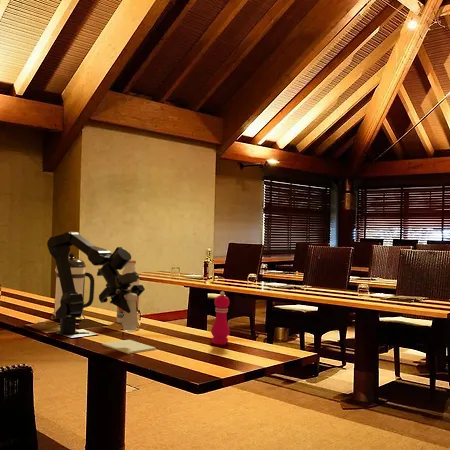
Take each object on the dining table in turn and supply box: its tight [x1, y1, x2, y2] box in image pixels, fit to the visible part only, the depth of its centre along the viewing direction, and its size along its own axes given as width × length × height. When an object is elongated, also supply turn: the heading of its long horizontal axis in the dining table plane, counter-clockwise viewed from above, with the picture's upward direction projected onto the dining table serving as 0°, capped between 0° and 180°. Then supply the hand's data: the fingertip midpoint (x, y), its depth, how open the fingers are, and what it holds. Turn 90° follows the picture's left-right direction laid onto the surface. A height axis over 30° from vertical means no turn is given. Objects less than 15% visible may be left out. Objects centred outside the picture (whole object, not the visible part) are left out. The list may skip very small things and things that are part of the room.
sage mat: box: [101, 339, 157, 355], centre depth 194 cm, size 16×12×1 cm
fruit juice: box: [116, 259, 140, 325], centre depth 243 cm, size 9×9×28 cm
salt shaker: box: [121, 293, 139, 332], centre depth 195 cm, size 6×6×13 cm
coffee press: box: [50, 252, 95, 322], centre depth 243 cm, size 17×16×30 cm
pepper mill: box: [210, 291, 231, 345], centre depth 210 cm, size 7×7×20 cm
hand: (133, 311), depth 194 cm, fingers closed on salt shaker, 3 cm apart
